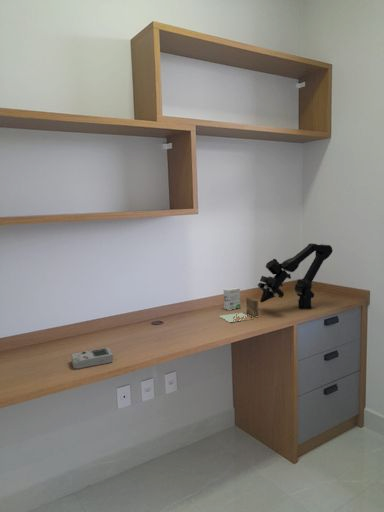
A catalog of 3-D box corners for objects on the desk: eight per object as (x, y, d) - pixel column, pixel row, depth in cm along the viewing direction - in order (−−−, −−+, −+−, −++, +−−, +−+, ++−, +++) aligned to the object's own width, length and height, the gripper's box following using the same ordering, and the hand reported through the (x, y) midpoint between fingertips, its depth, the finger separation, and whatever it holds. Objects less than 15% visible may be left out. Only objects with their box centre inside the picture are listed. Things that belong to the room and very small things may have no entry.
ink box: (235, 306, 225) (235, 287, 224) (240, 308, 221) (240, 288, 219) (223, 309, 221) (223, 289, 219) (229, 310, 216) (228, 290, 215)
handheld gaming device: (71, 362, 151) (71, 353, 150) (109, 355, 157) (108, 346, 156) (74, 371, 143) (73, 361, 142) (113, 363, 148) (112, 354, 148)
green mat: (242, 313, 210) (242, 312, 210) (254, 319, 197) (254, 318, 197) (218, 316, 206) (218, 315, 206) (230, 323, 193) (230, 322, 193)
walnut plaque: (250, 313, 209) (250, 297, 208) (258, 317, 201) (257, 300, 200) (246, 314, 208) (246, 298, 207) (253, 317, 200) (253, 301, 199)
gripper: (260, 268, 214) (243, 289, 212) (278, 272, 197) (260, 296, 194) (272, 280, 218) (255, 301, 215) (291, 286, 200) (273, 309, 198)
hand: (260, 301), depth 206 cm, fingers closed
